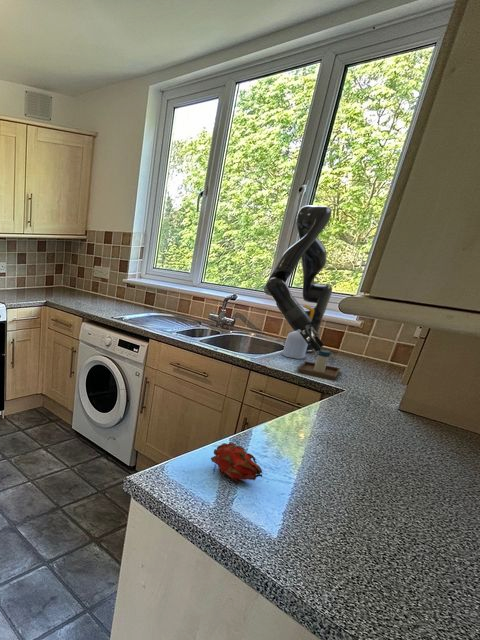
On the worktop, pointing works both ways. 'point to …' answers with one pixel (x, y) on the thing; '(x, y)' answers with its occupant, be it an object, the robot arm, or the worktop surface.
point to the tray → (328, 373)
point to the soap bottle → (296, 342)
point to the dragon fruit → (236, 462)
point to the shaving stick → (322, 360)
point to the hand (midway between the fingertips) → (320, 348)
